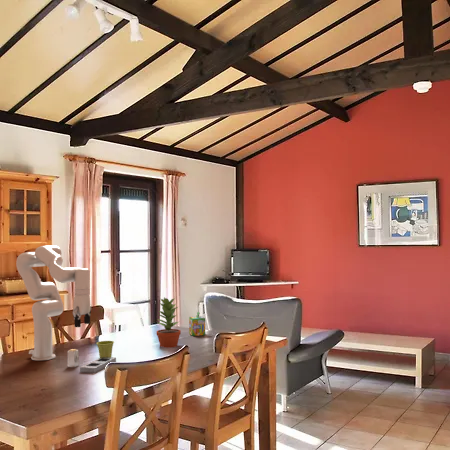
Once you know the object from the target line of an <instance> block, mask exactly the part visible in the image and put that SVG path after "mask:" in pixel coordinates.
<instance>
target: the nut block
mask: <svg viewBox="0 0 450 450" xmlns="http://www.w3.org/2000/svg"><path fill="white" fill-rule="evenodd" d="M79 353H80V352H79V349H76V348H74V349H73V348H72V349H69V350H67V368H76V367H79V365H80V358H79V357H80V354H79Z"/></svg>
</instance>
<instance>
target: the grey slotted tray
mask: <svg viewBox="0 0 450 450" xmlns="http://www.w3.org/2000/svg"><path fill="white" fill-rule="evenodd" d="M110 362H116V363H117V357H112V356H111V357H101V358H100V357H98V358H96V359H95V360H92V361H90V362H89V363H86V364H84V365H82V366H80V367H79V373H83V374H84V373H85V374H96V373H98V372H100V371H102V370H104V369H105V366H106V365H107V364H108V363H110Z"/></svg>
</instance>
